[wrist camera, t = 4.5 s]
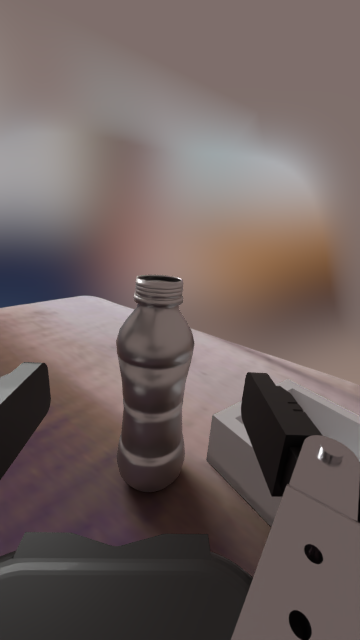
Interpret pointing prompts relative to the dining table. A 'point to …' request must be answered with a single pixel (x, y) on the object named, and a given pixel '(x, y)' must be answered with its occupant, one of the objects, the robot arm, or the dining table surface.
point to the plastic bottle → (153, 384)
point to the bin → (239, 457)
